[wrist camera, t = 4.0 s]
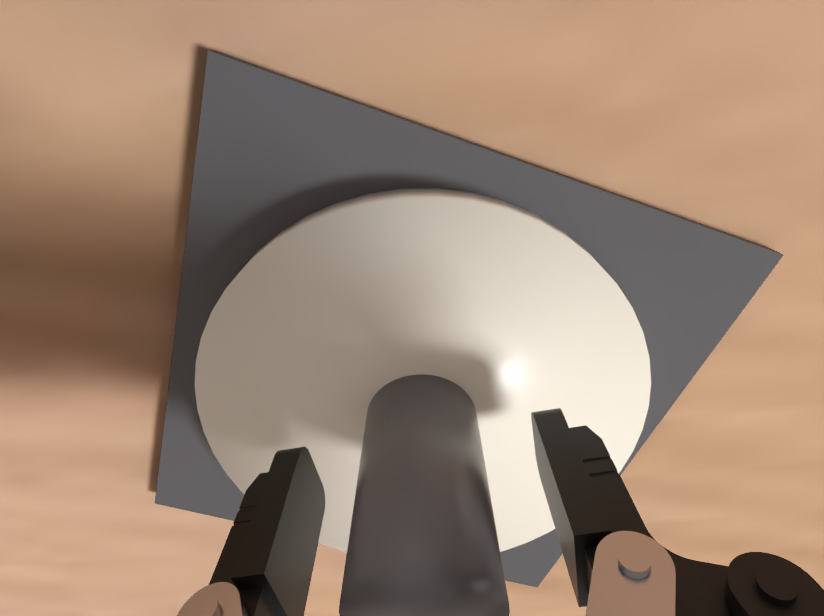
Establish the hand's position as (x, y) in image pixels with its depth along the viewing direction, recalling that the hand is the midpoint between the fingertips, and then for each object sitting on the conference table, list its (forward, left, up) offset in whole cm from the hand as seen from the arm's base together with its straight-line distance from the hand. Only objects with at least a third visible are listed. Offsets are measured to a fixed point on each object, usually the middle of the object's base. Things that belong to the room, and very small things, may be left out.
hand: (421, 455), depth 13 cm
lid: (0, 0, -2) cm, 2 cm away
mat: (0, 0, -3) cm, 3 cm away
